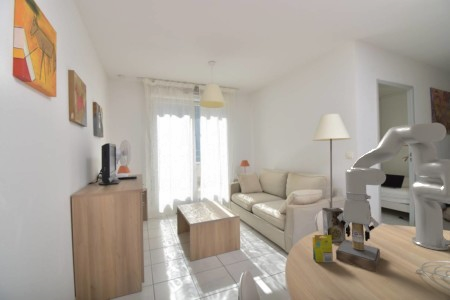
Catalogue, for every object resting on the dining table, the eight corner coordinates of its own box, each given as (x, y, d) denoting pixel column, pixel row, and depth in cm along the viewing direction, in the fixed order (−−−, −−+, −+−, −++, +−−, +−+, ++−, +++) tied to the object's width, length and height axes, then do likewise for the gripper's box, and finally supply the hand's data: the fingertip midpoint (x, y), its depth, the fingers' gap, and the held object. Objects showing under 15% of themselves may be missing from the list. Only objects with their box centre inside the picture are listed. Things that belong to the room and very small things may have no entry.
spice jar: (351, 248, 86) (350, 217, 87) (353, 245, 90) (351, 215, 91) (364, 251, 83) (363, 219, 84) (365, 248, 87) (364, 217, 88)
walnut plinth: (380, 257, 87) (379, 248, 87) (376, 271, 76) (376, 261, 76) (343, 247, 96) (343, 239, 96) (336, 259, 86) (336, 250, 86)
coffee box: (340, 236, 108) (339, 207, 108) (346, 242, 102) (345, 210, 102) (322, 236, 109) (321, 207, 109) (327, 241, 103) (326, 210, 103)
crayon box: (330, 259, 86) (329, 232, 86) (333, 262, 83) (332, 235, 83) (312, 258, 87) (312, 232, 87) (315, 262, 84) (314, 235, 84)
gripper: (381, 198, 84) (383, 240, 83) (336, 193, 95) (337, 230, 95) (380, 201, 78) (381, 247, 78) (332, 195, 90) (333, 235, 90)
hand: (357, 237), depth 86 cm, fingers open, 6 cm apart
